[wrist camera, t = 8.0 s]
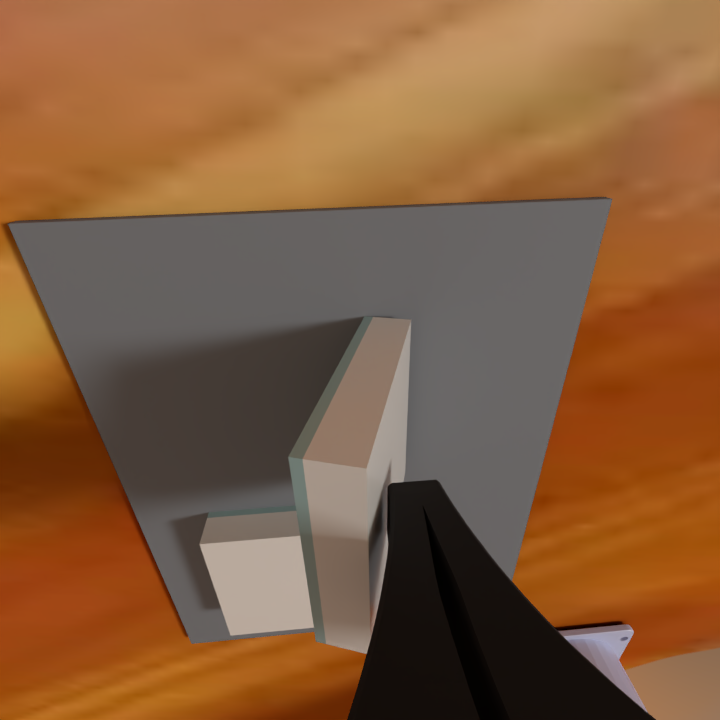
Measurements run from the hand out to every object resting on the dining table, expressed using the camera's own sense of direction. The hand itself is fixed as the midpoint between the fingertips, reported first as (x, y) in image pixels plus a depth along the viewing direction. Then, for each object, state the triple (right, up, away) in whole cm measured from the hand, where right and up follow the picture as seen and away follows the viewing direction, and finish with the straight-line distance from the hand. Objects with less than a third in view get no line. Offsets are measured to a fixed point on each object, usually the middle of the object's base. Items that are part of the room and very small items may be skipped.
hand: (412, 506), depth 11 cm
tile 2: (0, +2, +4) cm, 5 cm away
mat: (-2, -1, +7) cm, 7 cm away
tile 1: (-1, -6, +8) cm, 10 cm away
